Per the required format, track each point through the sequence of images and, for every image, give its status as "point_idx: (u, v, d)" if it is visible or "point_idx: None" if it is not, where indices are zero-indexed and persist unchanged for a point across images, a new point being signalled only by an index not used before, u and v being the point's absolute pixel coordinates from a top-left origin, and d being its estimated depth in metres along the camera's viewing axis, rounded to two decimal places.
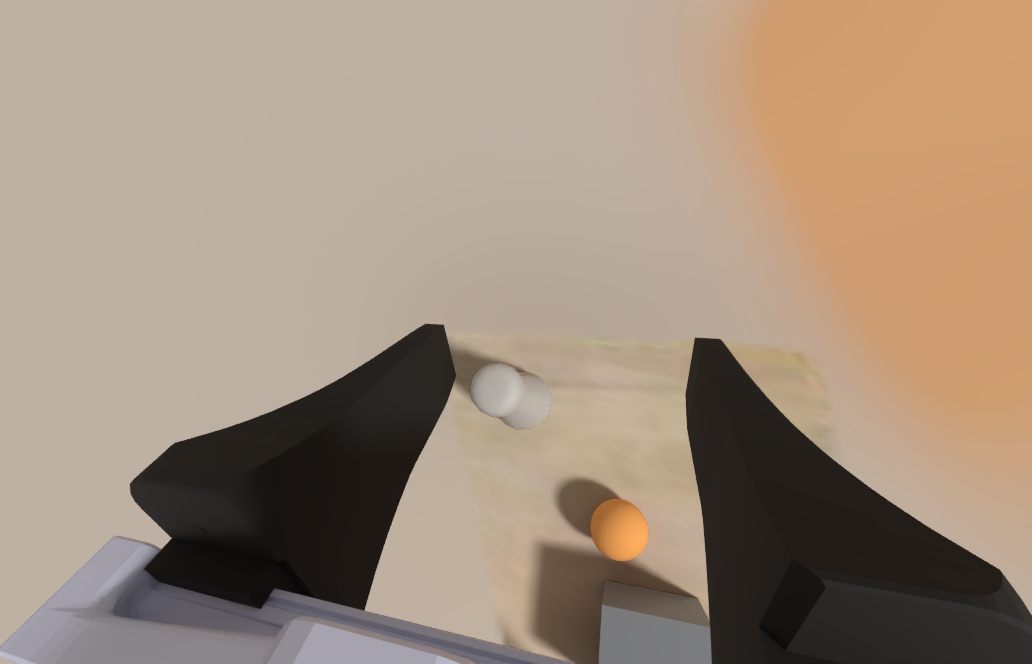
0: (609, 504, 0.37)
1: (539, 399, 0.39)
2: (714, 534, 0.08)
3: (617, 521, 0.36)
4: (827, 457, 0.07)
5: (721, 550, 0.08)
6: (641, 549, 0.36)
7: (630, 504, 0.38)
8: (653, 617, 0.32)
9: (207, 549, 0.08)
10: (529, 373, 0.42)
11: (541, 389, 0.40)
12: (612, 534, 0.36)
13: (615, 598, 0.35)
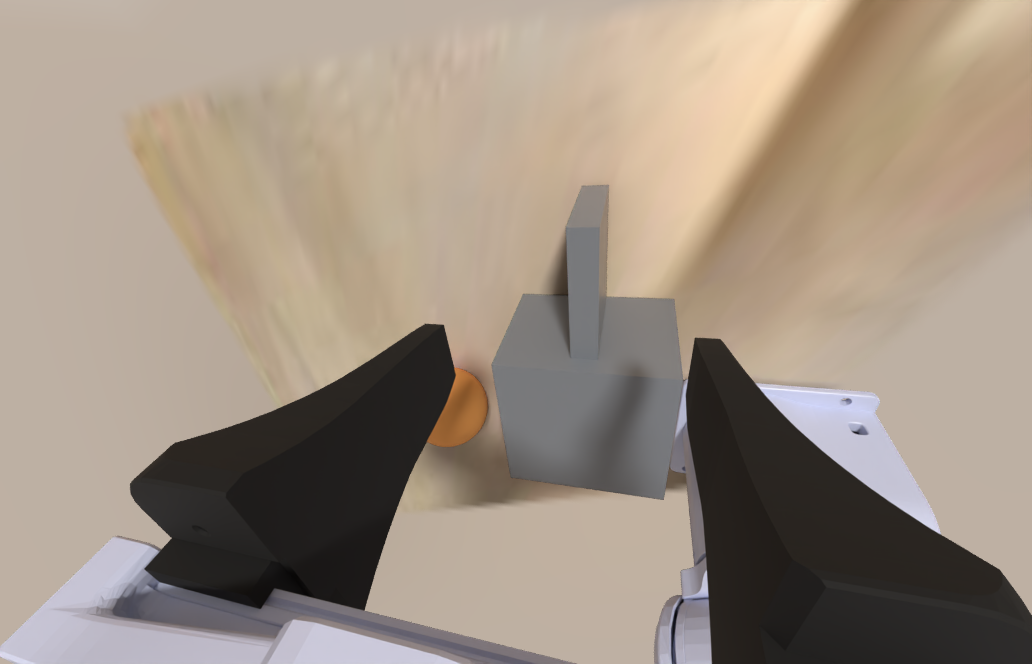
0: None
1: None
2: (714, 534, 0.08)
3: None
4: (827, 457, 0.07)
5: (721, 550, 0.08)
6: (452, 397, 0.25)
7: None
8: (504, 429, 0.21)
9: (207, 549, 0.08)
10: None
11: None
12: (436, 441, 0.25)
13: None
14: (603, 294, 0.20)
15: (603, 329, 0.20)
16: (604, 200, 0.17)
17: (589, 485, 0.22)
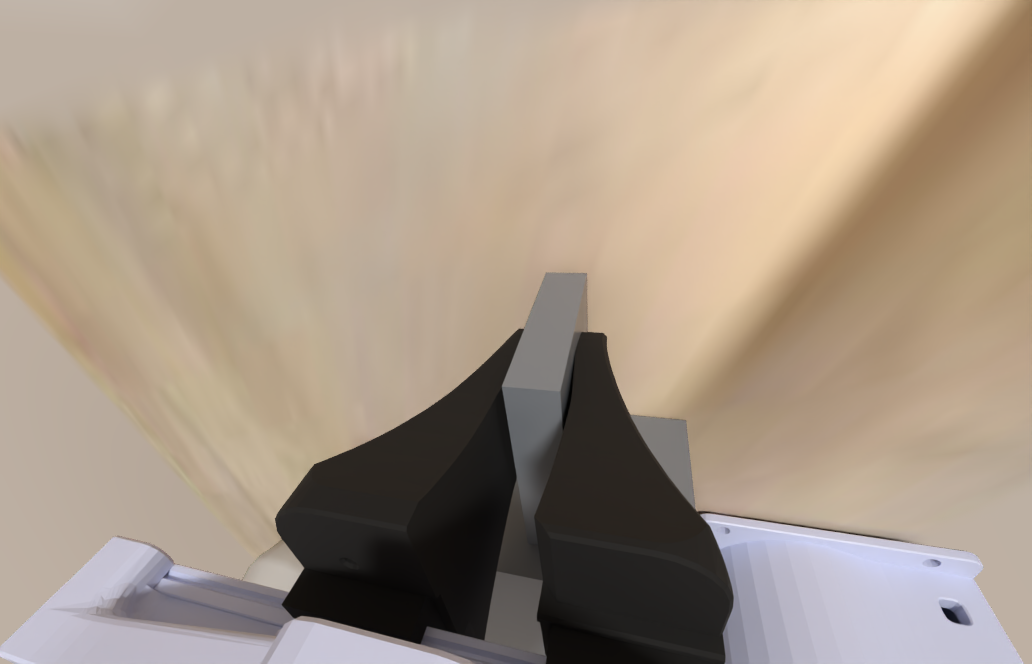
0: None
1: None
2: None
3: None
4: (635, 436, 0.07)
5: None
6: None
7: None
8: None
9: (349, 582, 0.07)
10: None
11: None
12: None
13: None
14: None
15: None
16: (576, 312, 0.11)
17: None
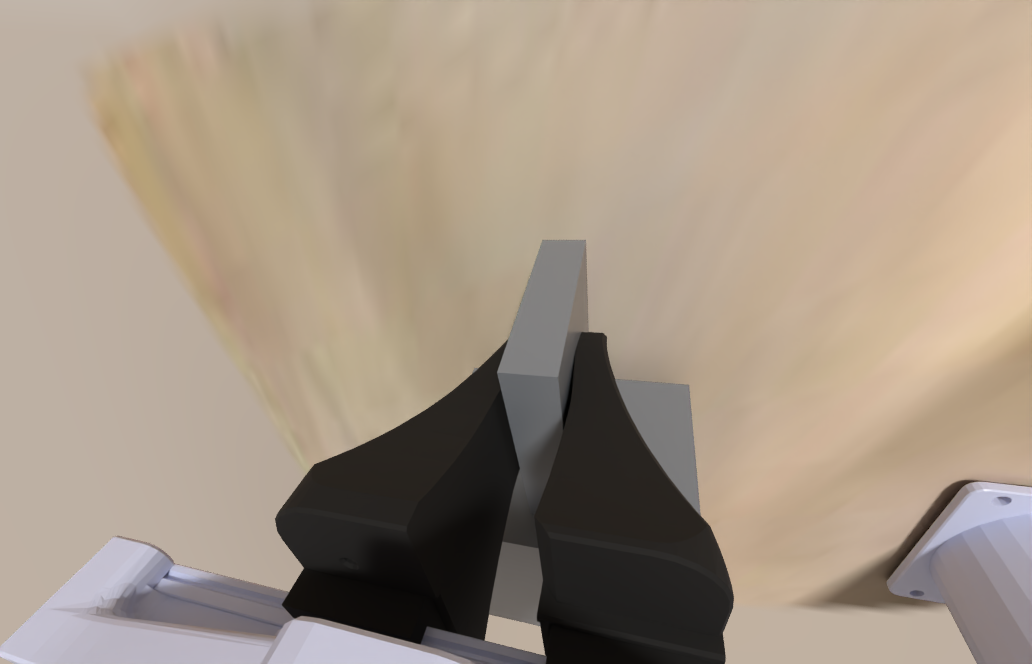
0: None
1: None
2: None
3: None
4: (636, 436, 0.07)
5: None
6: None
7: None
8: None
9: (349, 582, 0.07)
10: None
11: None
12: None
13: None
14: None
15: None
16: (574, 285, 0.10)
17: None
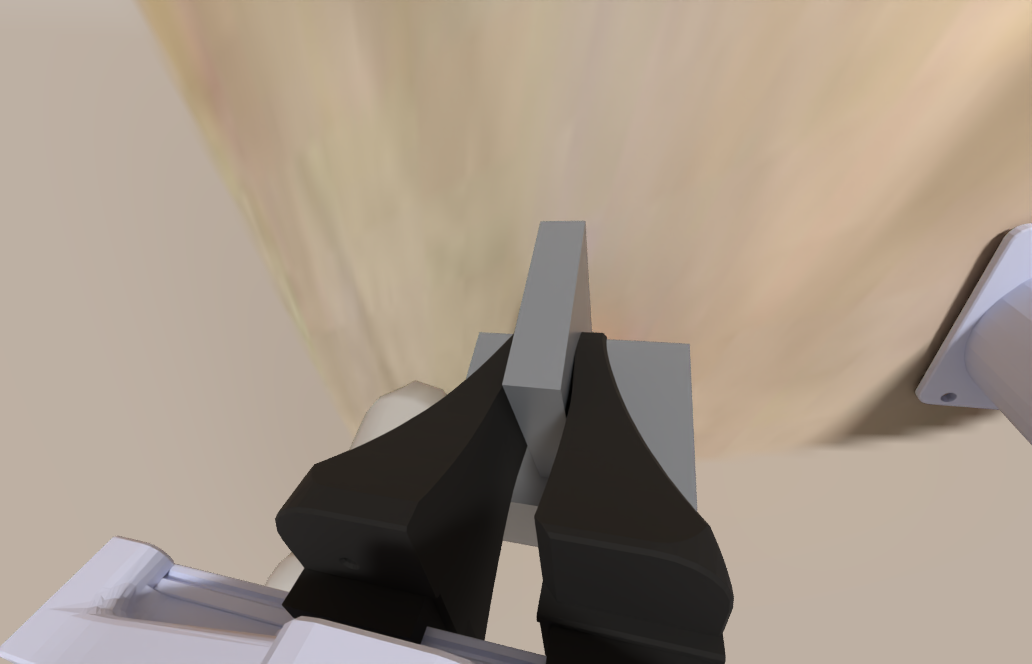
0: None
1: None
2: None
3: None
4: (635, 436, 0.07)
5: None
6: None
7: None
8: None
9: (349, 582, 0.07)
10: None
11: (364, 436, 0.23)
12: None
13: None
14: None
15: None
16: (574, 280, 0.10)
17: None
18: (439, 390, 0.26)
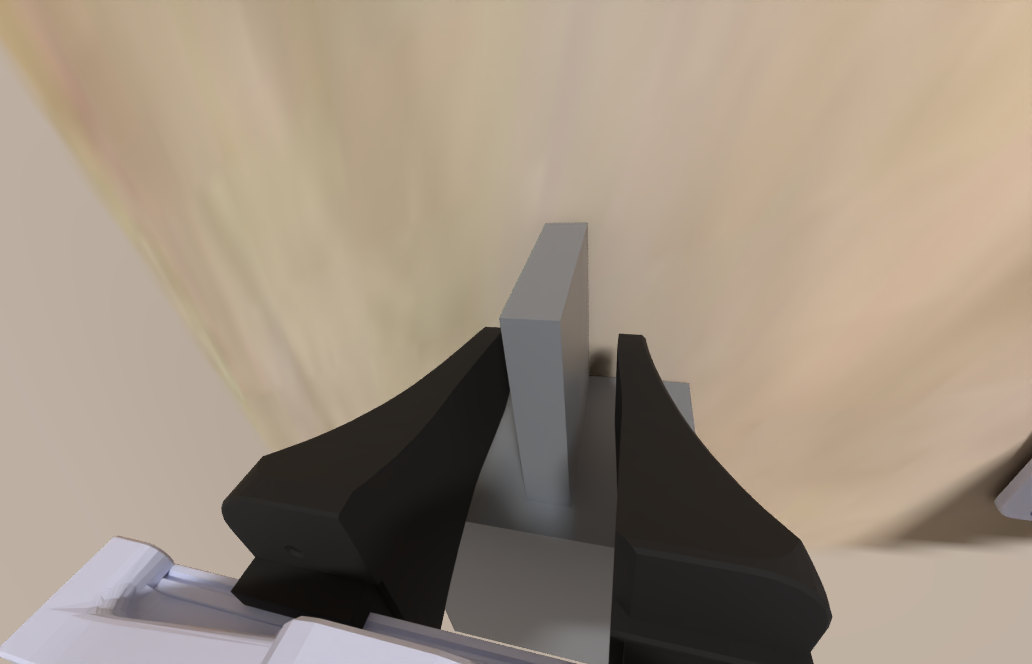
0: None
1: None
2: None
3: None
4: (698, 443, 0.07)
5: None
6: None
7: None
8: None
9: (296, 570, 0.07)
10: None
11: None
12: None
13: None
14: (580, 391, 0.13)
15: (582, 440, 0.13)
16: (576, 254, 0.10)
17: (564, 654, 0.15)
18: None
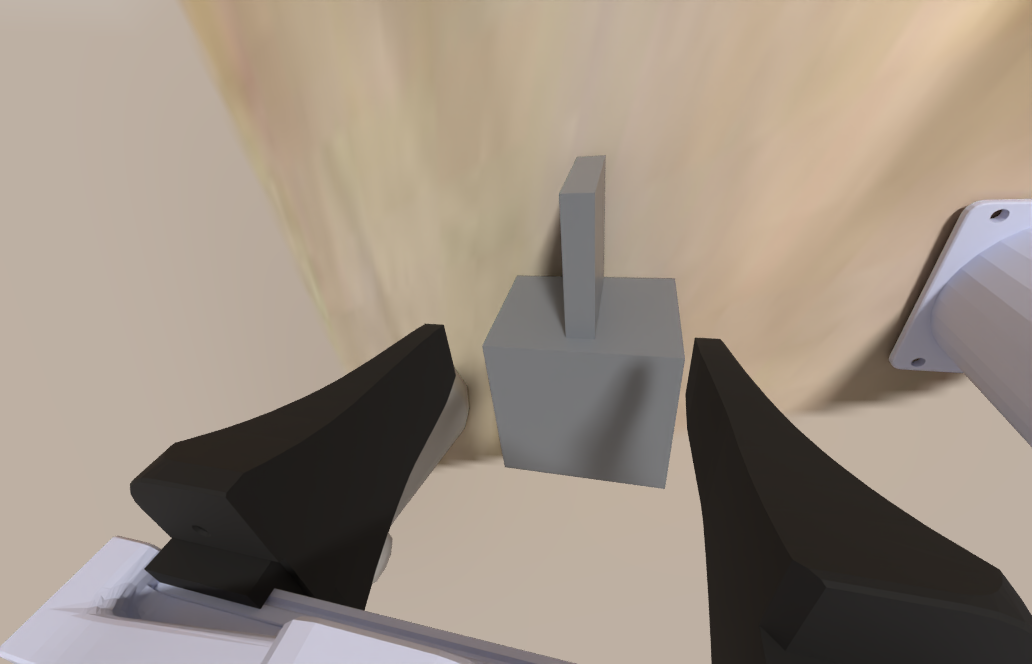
0: None
1: None
2: (714, 534, 0.08)
3: None
4: (827, 457, 0.07)
5: (721, 550, 0.08)
6: None
7: None
8: (497, 415, 0.20)
9: (207, 549, 0.08)
10: None
11: None
12: None
13: None
14: (600, 271, 0.19)
15: (600, 309, 0.19)
16: (600, 168, 0.16)
17: (586, 474, 0.21)
18: None
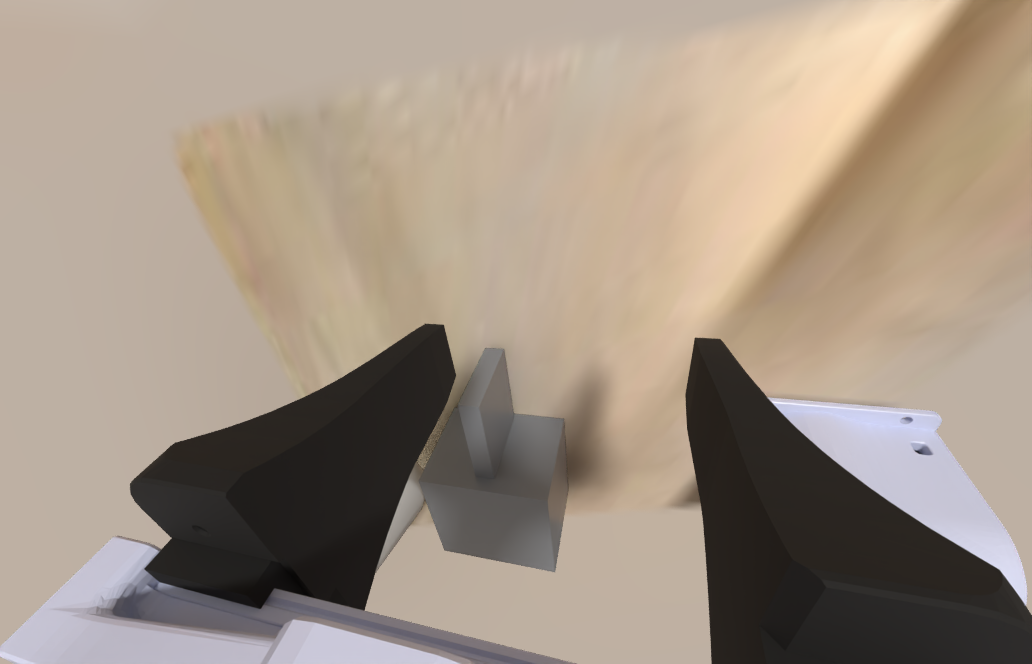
0: None
1: None
2: (714, 534, 0.08)
3: None
4: (827, 457, 0.07)
5: (721, 550, 0.08)
6: None
7: None
8: (434, 520, 0.28)
9: (207, 549, 0.08)
10: None
11: None
12: None
13: None
14: (502, 425, 0.27)
15: (505, 448, 0.27)
16: (493, 371, 0.24)
17: (501, 559, 0.29)
18: None
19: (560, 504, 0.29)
